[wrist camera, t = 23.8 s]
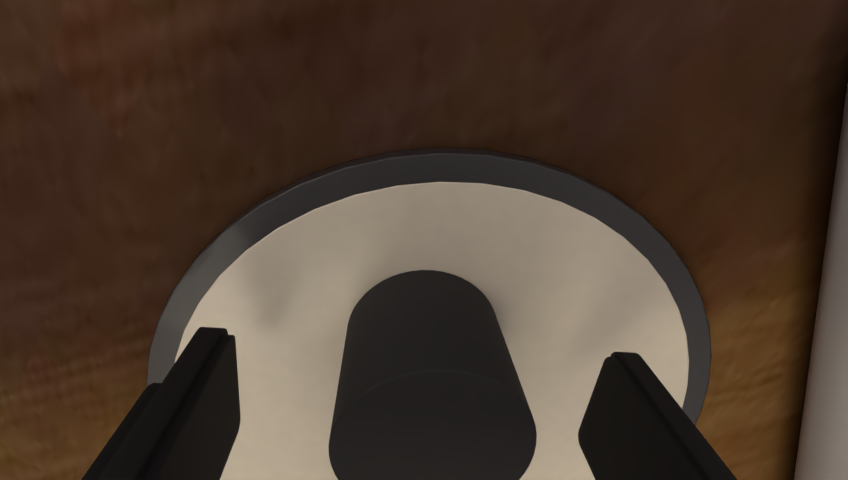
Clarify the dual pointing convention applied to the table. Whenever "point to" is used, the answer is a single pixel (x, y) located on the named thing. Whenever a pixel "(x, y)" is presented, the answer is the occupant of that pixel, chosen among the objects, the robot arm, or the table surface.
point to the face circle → (448, 252)
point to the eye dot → (428, 387)
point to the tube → (829, 346)
